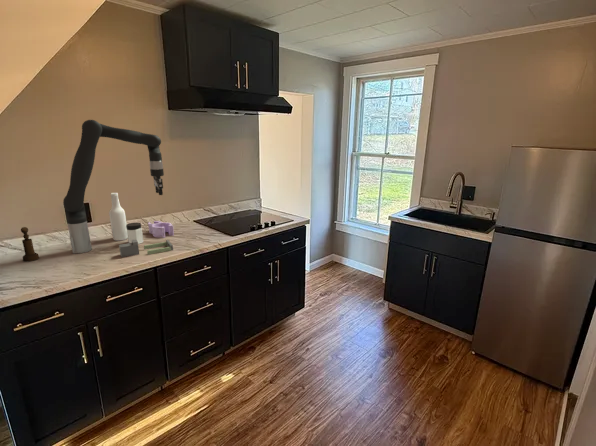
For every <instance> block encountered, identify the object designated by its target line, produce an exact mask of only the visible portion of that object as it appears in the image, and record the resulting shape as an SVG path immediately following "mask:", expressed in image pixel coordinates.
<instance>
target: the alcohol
mask: <svg viewBox="0 0 596 446" xmlns="http://www.w3.org/2000/svg"><path fill="white" fill-rule="evenodd" d="M119 198H120V197H119V193H118V192H111V193H110V199H111V207H110V210H109V212H108V216H109V222H110V227H111V235H112V240H114V241H116V242H118V241H119V242H120V241H125V240H128V236H127V228H126V225H127V224H128V222H127V217H126V211H125V209H124V208H123V207H122V206H121V204H120V200H119Z"/></svg>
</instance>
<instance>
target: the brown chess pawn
mask: <svg viewBox="0 0 596 446" xmlns="http://www.w3.org/2000/svg"><path fill="white" fill-rule="evenodd" d="M20 232H21V233H22V234H23V235H22V237H23V238H24V239H22V240H21V241H22V247H23V250H24V253H25V254H24V255H23V256H22V261H23V262H32V261H36V260H38V259H40V256H39V253H37V252H35V248H34V244H33V239H32V238H30V237H29V236H30V235H29V234H28V232H29V229H28V227H26V226H23V227H21V228H20Z"/></svg>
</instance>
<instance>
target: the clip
mask: <svg viewBox="0 0 596 446" xmlns="http://www.w3.org/2000/svg"><path fill="white" fill-rule="evenodd" d="M147 226H148V233H149V234H152V236H153V237H155V238H164V239H166V233H168V235H169V236H175V231H174V230H175V228H174V225H173V224H172V223H171V222H167V221H166V222H163V221H161V220H154V221H153V223H152V222H150V221H149V222H147Z"/></svg>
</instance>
